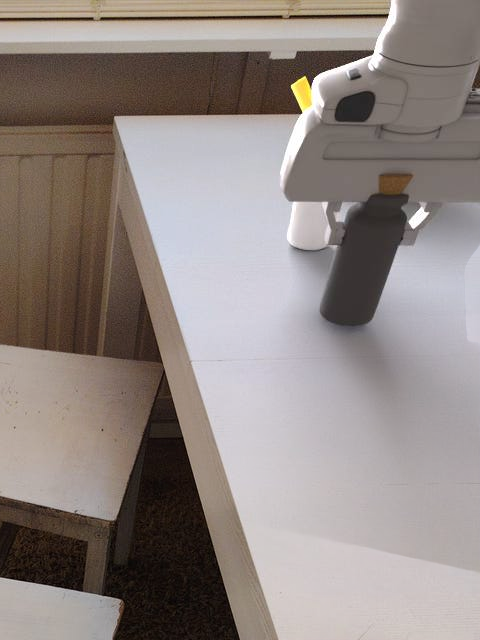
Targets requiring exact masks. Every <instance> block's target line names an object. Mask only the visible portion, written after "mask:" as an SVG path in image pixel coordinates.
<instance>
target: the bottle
mask: <svg viewBox="0 0 480 640" xmlns="http://www.w3.org/2000/svg"><path fill="white" fill-rule="evenodd" d="M412 177H413V175H412V174H381V175H379V193H378V194H373V195H371V196H370V197H369V198H368V200H367V201H366V202H355V203H354V204H353V205H351V206H350V207H349V208H348V209H347V211H346V214H345V217H344V220H343V223H344V227H345V228H346V232H345V236H344V237H343V238H342V239H343V242H342V245H336V247H335V252H334V254H333V258H332V261H331V264H330V268H329V271H328V272H329V273H328V276H327V278H326V282H325V286H324V290H323V293H322V295H321V299H320V303H319V307H318V308H319V309H318V311H319V315H320V316H321V317H322V318H324V320H325V321H328V322H329V323H331V324H334V325H337V326H340V327H341V326H342V327H353V328H354V327H360V326H364V325H367V324H369V323H370V322H372V320H373V318H374V317H375V315H376V311H377V309H378V306H379V304H380V300H381V297H382V295H383V291H384V289H385V286H386V283H387V280H388V277H389V275H390V271H391V269H392V267H393V264H394V260H395V257H396V254H397V252H398V249H399V247H400V246H399V243H400V240H401V237H402V234H403V231H404V228H405V225H406V222H408V215H407V213H406V211H405V210H404V209H403V208H402V207H403V206H405V205H407V204H409V202H408V199H409V195H407V194H401V193H402V192H403V191H404V189H405V188H406V186H407V185H408V183H409V182H410V180H411V179H412Z"/></svg>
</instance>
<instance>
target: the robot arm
mask: <svg viewBox="0 0 480 640" xmlns="http://www.w3.org/2000/svg"><path fill="white" fill-rule="evenodd" d="M479 67H480V0H391V6H390V11H389V15H388V19H387V21H386V23H385V26H384V27H383V29H382V31H381V33H380V35H379V36H378V39H377V41H376V44H375V48H374V52H373V54H372V55H370V56H367V57H365V58H362V59H359V60H357V61H354V62H350V63H348V64H345V65H341V66H340V67H337V68H333V69H331V70H330V69H329V70H327V71H325V72H322V73H319V74H318V75H317V76H316V77H314V80H313V82H312V85H311V99H312V104H313V106H311V107H309V108H308V109H307V110H306V111H305V112H304V113H303V112H302V114H301V115H300V116H299V118H298V120H297V122H296V124H295V126H294V128H293V130H292V134H291V136H290V138H289V141H288V144H287V148H286V149H285V150H286V151H285V154H284V157H283V161H282V164H281V168H280V173H279V187H280V190H281V192H282V194H283V196H284V198H285V199H286V200H287V201H288V202H290V203H294V202H322V205H323V208H324V211H325V215H326V218H327V221H328V226H327V230H326V233H325V243H326V245H327V246H337V245H342V242H343V239H342V238H343V237H344V236H345V232H346V228H345V227H344V221H337V222H336V219H335V216H334V212H340V210H341V211H342V209H341V206H342V203H343V202H344V203H359V202H366V201H367V200H368V198H369V197H370V196H371V195H373V194H378V193H379V175H381V174H412V175H413V177H412V179H411V180H410V182H409V183H408V185H407V186H406V188H405V189H404V191H403V192H402V193H401V194H407V195H409V199H408V203H418V204H419V205H420V208H419V210H418V211H417V212H416V213H415V214H414V215H413V216H412V217H411V218H410V220H409V221H407V222H406V225H405V228H404V231H403V234H402V237H401V240H400V243H399V246H398V247H413V246H414V245H415V244H416V241H417V239H418V235H419V233H420V231H422V230H423V229H424V228H425V226H426V225H428V223H430V221H432V220H433V218H435V217H436V216H437V215H438V213H439V211H440V208H441V205H442V203H448V204H449V203H450V204H451V203H453V204H455V203H461V204H463V203H466V204H467V203H469V204H471V203H472V204H473V203H474V204H475V203H476V204H477V203H478V204H479V203H480V87H473V84H474V82H475V78H476V76H477V73H478V70H479ZM340 213H341V212H340Z"/></svg>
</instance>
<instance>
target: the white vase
mask: <svg viewBox="0 0 480 640" xmlns="http://www.w3.org/2000/svg"><path fill="white" fill-rule="evenodd" d="M344 204H345V202H343V203H342V206H341V210H340V212H334V216H335V219H336V222H338V220H339V217H340V214H341V212H342V209H343V208H344V207H343V206H344ZM289 221H290V222H289V225H288V228H287V234H286V239H287V241H288V243H289V244H290V245H291V246H292V247H294V248H297V249H300V250H305V251H318V250H322V249H325V248H327V247H328V245H326V243H325V233H326V230H327V226H328V221H327V218H326V215H325V211H324V208H323V205H322V202H292V209H291V216H290V220H289Z"/></svg>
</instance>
